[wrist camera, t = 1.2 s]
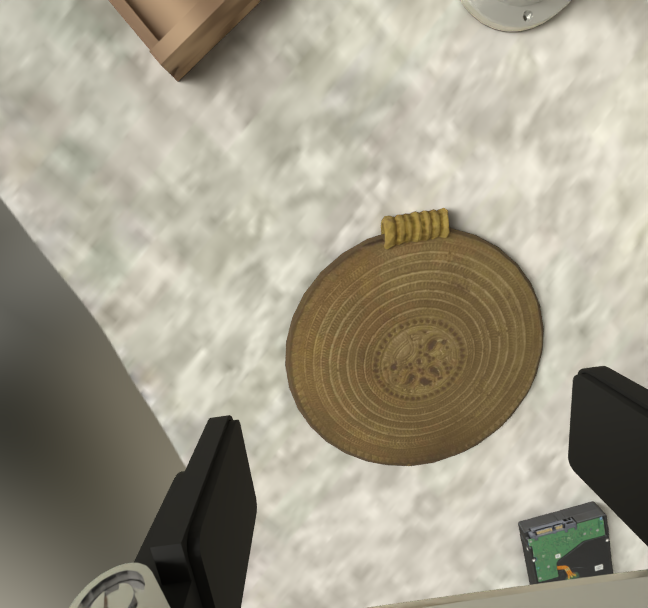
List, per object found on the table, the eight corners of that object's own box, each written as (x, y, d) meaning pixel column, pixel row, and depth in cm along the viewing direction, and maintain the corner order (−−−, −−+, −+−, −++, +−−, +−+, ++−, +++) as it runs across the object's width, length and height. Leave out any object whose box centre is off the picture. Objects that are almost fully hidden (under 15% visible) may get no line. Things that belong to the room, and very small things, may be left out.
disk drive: (602, 579, 52) (591, 497, 48) (618, 599, 50) (608, 514, 46) (530, 599, 53) (514, 519, 49) (543, 621, 50) (526, 538, 46)
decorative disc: (317, 497, 44) (248, 249, 35) (316, 476, 47) (252, 244, 38) (555, 445, 44) (548, 182, 34) (538, 427, 47) (528, 182, 38)
